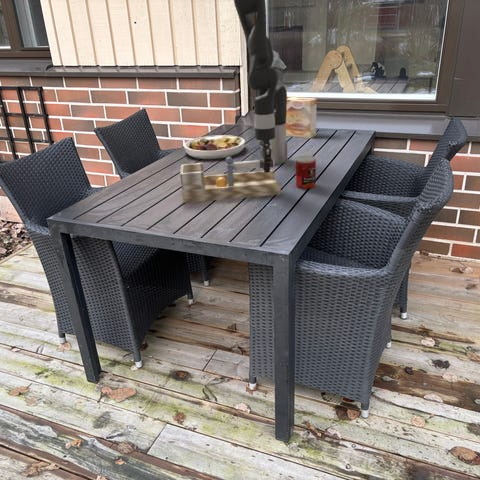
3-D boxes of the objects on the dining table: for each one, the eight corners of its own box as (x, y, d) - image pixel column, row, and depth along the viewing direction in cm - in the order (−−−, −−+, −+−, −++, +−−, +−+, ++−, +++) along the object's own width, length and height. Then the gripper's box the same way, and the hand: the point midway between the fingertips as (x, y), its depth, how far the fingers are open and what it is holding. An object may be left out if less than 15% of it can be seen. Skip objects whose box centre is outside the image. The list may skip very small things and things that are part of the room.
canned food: (303, 190, 181) (303, 162, 176) (291, 185, 188) (291, 157, 183) (319, 186, 184) (320, 158, 180) (307, 181, 191) (307, 154, 186)
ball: (227, 186, 187) (226, 175, 185) (227, 189, 183) (227, 178, 181) (215, 187, 186) (215, 176, 185) (216, 190, 183) (215, 179, 181)
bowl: (189, 146, 253) (187, 131, 249) (245, 143, 251) (245, 128, 248) (181, 162, 226) (179, 146, 222) (244, 159, 224) (243, 143, 221)
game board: (274, 180, 194) (273, 155, 189) (280, 194, 179) (279, 167, 175) (184, 188, 192) (181, 163, 187) (183, 202, 177) (180, 175, 173)
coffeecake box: (285, 136, 258) (284, 99, 250) (291, 133, 263) (291, 96, 255) (310, 138, 250) (310, 100, 242) (316, 135, 255) (316, 98, 247)
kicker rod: (273, 179, 187) (272, 151, 182) (275, 183, 183) (274, 155, 178) (226, 183, 186) (224, 155, 181) (227, 187, 182) (225, 159, 177)
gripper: (277, 129, 169) (279, 175, 177) (272, 120, 182) (273, 164, 190) (256, 130, 169) (258, 177, 177) (252, 122, 182) (254, 166, 189)
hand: (266, 170), depth 183 cm, fingers closed on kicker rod, 3 cm apart
